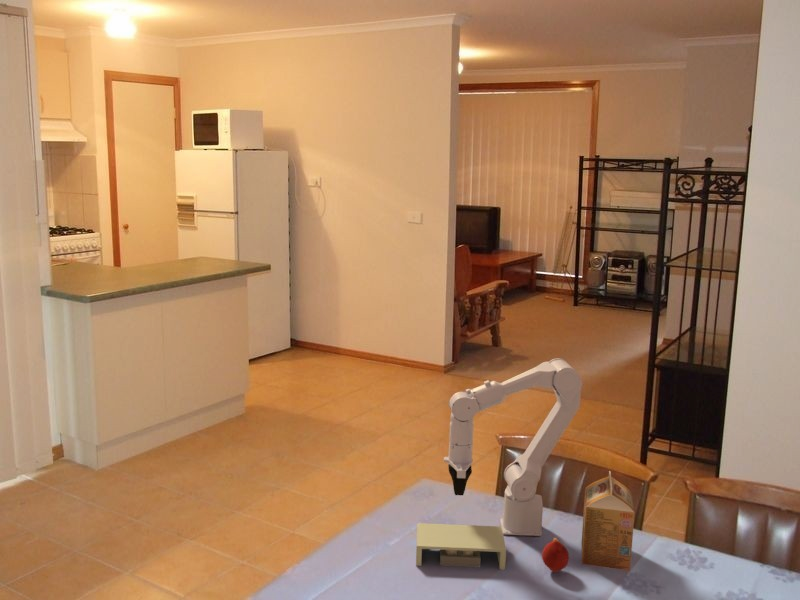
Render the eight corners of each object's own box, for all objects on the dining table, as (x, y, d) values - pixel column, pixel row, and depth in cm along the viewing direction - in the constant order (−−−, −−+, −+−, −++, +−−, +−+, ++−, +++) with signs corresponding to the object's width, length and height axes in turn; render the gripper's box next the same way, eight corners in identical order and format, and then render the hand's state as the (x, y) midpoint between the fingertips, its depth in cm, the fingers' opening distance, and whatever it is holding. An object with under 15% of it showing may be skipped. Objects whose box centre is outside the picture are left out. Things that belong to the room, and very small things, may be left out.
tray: (477, 544, 183) (477, 532, 183) (480, 568, 173) (480, 556, 172) (439, 542, 184) (440, 531, 183) (440, 566, 173) (440, 554, 172)
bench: (500, 545, 183) (501, 526, 182) (505, 569, 172) (506, 549, 171) (416, 541, 183) (417, 523, 182) (415, 565, 172) (416, 545, 172)
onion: (569, 567, 173) (571, 535, 172) (565, 580, 168) (568, 546, 166) (543, 562, 175) (545, 530, 174) (539, 575, 170) (541, 542, 168)
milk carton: (629, 570, 173) (636, 491, 169) (581, 564, 175) (587, 486, 171) (626, 548, 183) (633, 473, 179) (581, 542, 185) (586, 468, 182)
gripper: (443, 430, 193) (442, 481, 196) (445, 452, 179) (443, 506, 182) (471, 431, 193) (469, 482, 196) (475, 453, 179) (473, 507, 181)
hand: (459, 494), depth 189 cm, fingers closed
